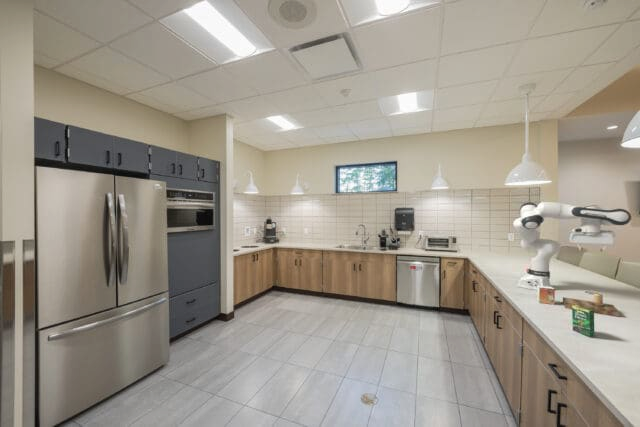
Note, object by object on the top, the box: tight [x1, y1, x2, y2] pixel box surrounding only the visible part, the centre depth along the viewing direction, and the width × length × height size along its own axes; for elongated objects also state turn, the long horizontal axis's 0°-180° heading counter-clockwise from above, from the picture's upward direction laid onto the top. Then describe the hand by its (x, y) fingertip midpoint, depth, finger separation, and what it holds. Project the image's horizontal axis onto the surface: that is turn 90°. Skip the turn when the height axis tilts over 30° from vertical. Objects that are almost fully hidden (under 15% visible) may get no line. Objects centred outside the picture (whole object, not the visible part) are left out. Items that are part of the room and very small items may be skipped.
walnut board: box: [562, 296, 620, 318], centre depth 155 cm, size 22×12×4 cm, turn 52°
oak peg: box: [593, 293, 604, 307], centre depth 152 cm, size 4×4×10 cm
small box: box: [536, 285, 556, 306], centre depth 166 cm, size 8×6×10 cm
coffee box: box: [571, 305, 595, 338], centre depth 125 cm, size 8×3×13 cm, turn 6°
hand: (591, 251), depth 164 cm, fingers open, 8 cm apart
